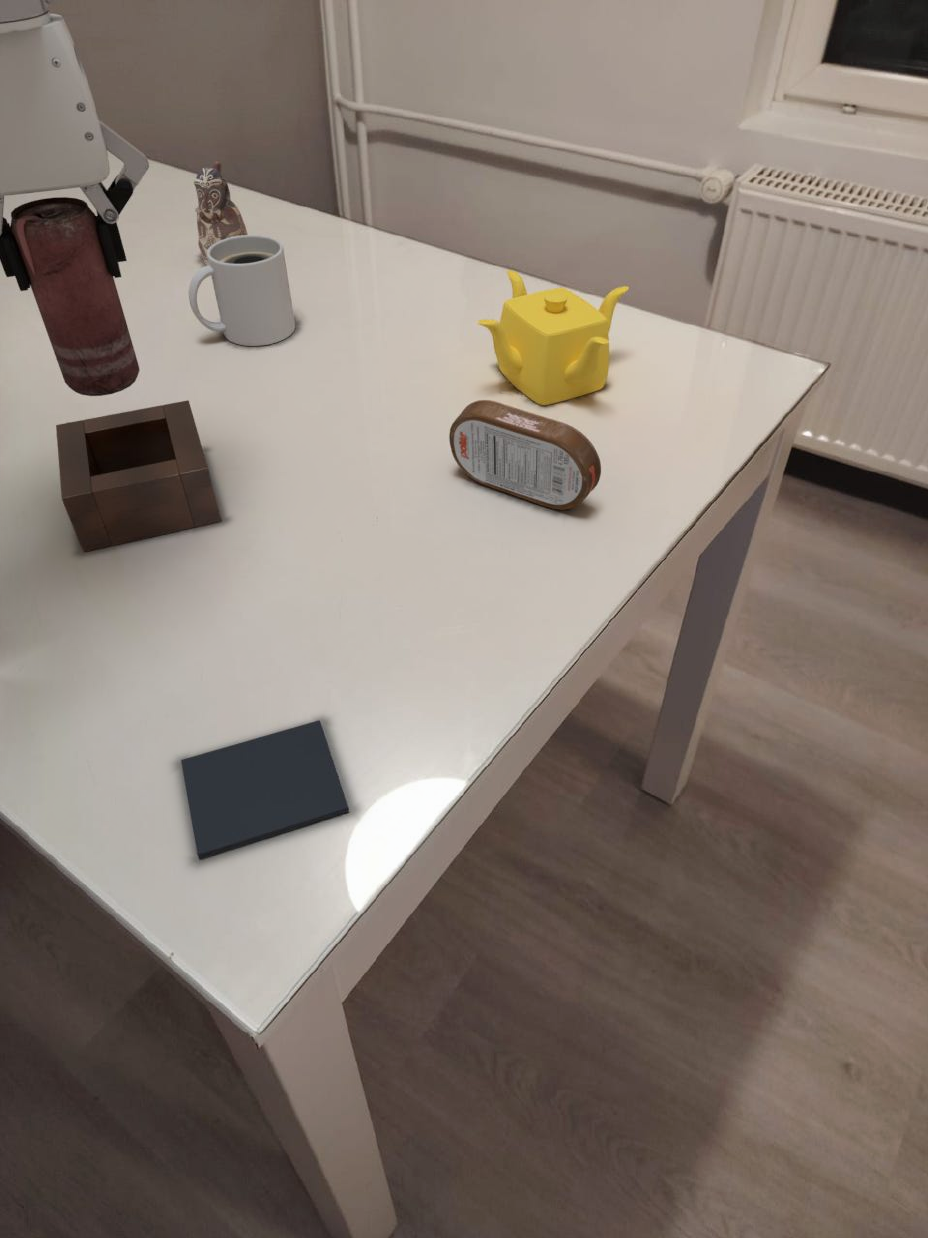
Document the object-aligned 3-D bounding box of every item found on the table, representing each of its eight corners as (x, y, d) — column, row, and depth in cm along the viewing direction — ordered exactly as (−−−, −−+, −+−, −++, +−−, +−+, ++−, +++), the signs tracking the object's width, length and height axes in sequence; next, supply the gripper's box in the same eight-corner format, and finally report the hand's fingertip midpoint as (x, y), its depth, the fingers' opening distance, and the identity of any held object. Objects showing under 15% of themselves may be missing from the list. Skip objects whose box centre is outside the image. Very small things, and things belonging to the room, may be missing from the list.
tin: (597, 507, 82) (607, 430, 76) (583, 525, 80) (592, 448, 74) (461, 461, 88) (460, 386, 82) (445, 477, 86) (443, 401, 80)
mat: (199, 859, 56) (197, 855, 56) (182, 764, 61) (180, 759, 61) (349, 812, 58) (348, 807, 58) (320, 724, 64) (319, 719, 63)
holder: (83, 552, 78) (61, 498, 74) (76, 477, 86) (55, 424, 82) (221, 521, 81) (208, 468, 77) (202, 451, 89) (188, 399, 85)
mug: (302, 314, 111) (291, 235, 104) (284, 350, 104) (270, 268, 97) (220, 311, 112) (203, 232, 105) (197, 346, 105) (177, 264, 98)
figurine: (191, 262, 123) (170, 171, 115) (219, 243, 128) (202, 155, 119) (233, 270, 121) (216, 178, 113) (261, 251, 126) (246, 161, 117)
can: (49, 393, 72) (-16, 219, 63) (94, 358, 77) (39, 190, 67) (113, 404, 71) (56, 227, 61) (154, 368, 75) (107, 197, 66)
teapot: (506, 339, 106) (508, 260, 99) (621, 355, 103) (631, 275, 96) (472, 400, 96) (473, 317, 89) (598, 419, 93) (609, 335, 86)
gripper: (117, -20, 60) (177, 245, 72) (-162, -5, 56) (-47, 275, 68) (127, -2, 55) (190, 279, 67) (-179, 16, 50) (-52, 314, 63)
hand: (70, 275), depth 68 cm, fingers closed on can, 6 cm apart
